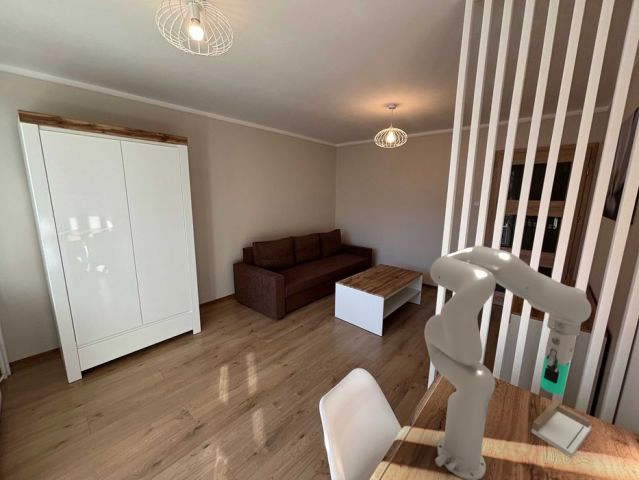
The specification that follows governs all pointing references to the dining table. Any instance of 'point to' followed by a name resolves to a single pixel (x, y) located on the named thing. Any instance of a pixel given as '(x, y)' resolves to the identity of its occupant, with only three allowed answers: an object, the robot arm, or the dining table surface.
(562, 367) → the candle
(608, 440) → the dining table surface
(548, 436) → the jig board
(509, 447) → the dining table surface
